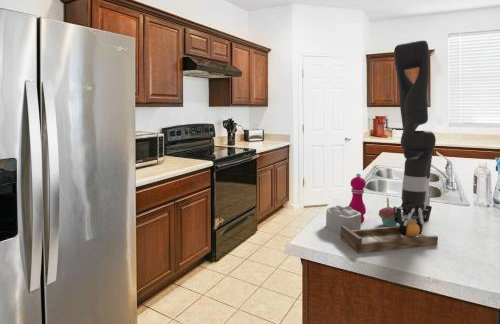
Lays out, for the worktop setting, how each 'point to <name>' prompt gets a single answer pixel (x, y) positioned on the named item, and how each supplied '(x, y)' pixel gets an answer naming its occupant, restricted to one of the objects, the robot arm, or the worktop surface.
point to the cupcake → (387, 215)
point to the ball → (412, 229)
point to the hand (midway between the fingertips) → (410, 234)
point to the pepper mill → (358, 195)
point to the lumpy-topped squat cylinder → (342, 219)
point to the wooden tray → (383, 239)
